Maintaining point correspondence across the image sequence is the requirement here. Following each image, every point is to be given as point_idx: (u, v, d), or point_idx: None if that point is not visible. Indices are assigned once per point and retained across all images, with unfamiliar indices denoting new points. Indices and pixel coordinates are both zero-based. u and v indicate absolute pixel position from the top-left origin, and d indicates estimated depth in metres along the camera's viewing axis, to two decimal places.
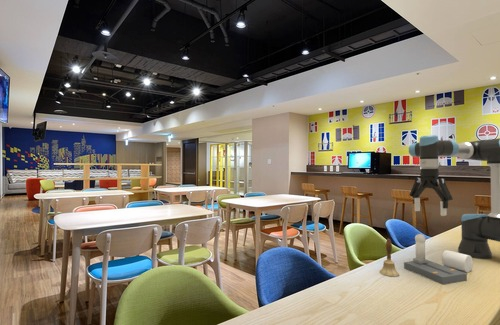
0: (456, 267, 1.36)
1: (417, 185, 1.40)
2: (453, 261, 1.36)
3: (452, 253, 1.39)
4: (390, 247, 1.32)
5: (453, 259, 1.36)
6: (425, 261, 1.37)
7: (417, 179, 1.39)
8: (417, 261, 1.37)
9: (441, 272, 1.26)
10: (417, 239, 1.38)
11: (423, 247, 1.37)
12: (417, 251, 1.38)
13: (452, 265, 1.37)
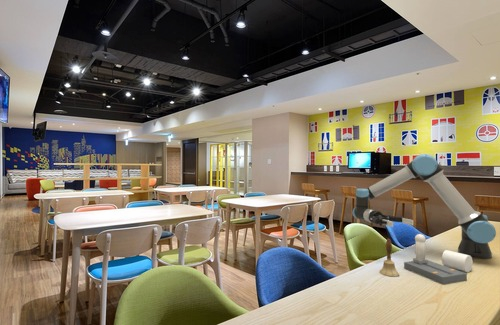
0: (456, 267, 1.36)
1: None
2: (453, 261, 1.36)
3: (452, 253, 1.39)
4: (390, 247, 1.32)
5: (453, 259, 1.36)
6: (425, 261, 1.37)
7: (388, 219, 1.65)
8: (417, 261, 1.37)
9: (441, 272, 1.26)
10: (417, 239, 1.38)
11: (423, 247, 1.37)
12: (417, 251, 1.38)
13: (452, 265, 1.37)
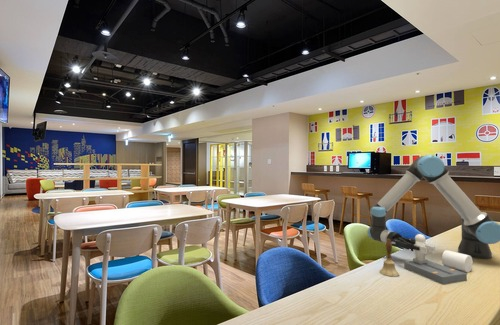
0: (456, 267, 1.36)
1: None
2: (453, 261, 1.36)
3: (452, 253, 1.39)
4: (390, 247, 1.32)
5: (453, 259, 1.36)
6: (425, 261, 1.37)
7: None
8: (417, 261, 1.37)
9: (441, 272, 1.26)
10: (417, 239, 1.38)
11: None
12: (417, 251, 1.38)
13: (452, 265, 1.37)
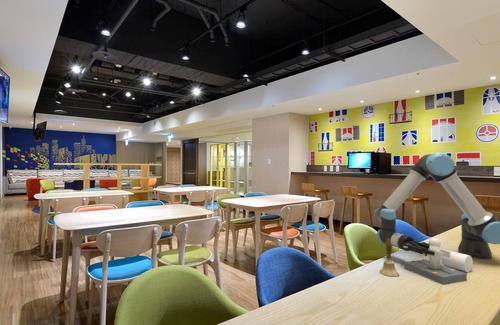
0: (456, 267, 1.36)
1: None
2: (453, 261, 1.36)
3: (452, 253, 1.39)
4: (390, 247, 1.32)
5: (453, 259, 1.36)
6: (440, 266, 1.30)
7: None
8: (431, 266, 1.30)
9: (441, 272, 1.26)
10: (431, 243, 1.30)
11: None
12: (431, 256, 1.31)
13: (452, 265, 1.37)
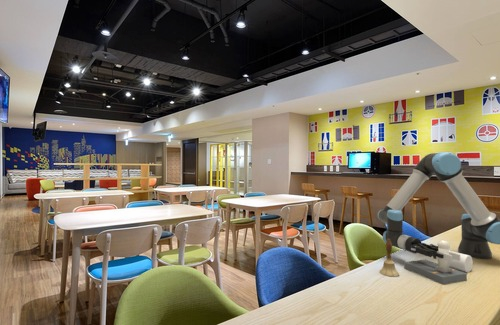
0: (456, 267, 1.36)
1: None
2: (453, 261, 1.36)
3: None
4: (390, 247, 1.32)
5: (453, 259, 1.36)
6: (449, 270, 1.25)
7: None
8: (440, 270, 1.26)
9: (441, 272, 1.26)
10: (440, 246, 1.26)
11: None
12: (440, 259, 1.26)
13: (452, 265, 1.37)
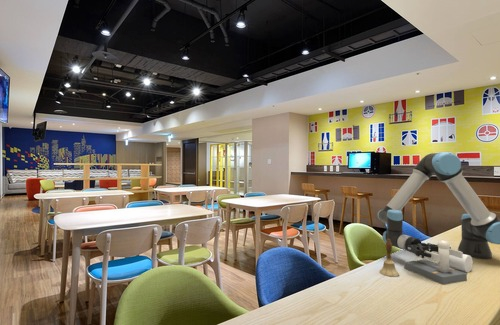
0: (456, 267, 1.36)
1: None
2: (453, 261, 1.36)
3: None
4: (390, 247, 1.32)
5: (453, 259, 1.36)
6: (449, 270, 1.25)
7: None
8: (440, 270, 1.26)
9: (441, 272, 1.26)
10: (440, 246, 1.26)
11: (447, 254, 1.25)
12: (440, 259, 1.26)
13: (452, 265, 1.37)
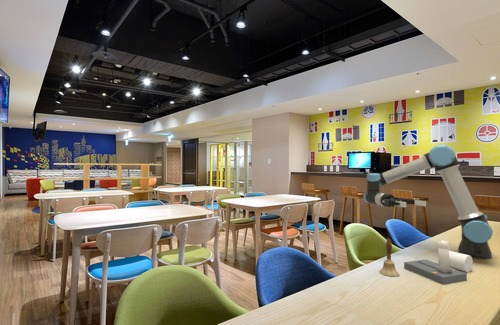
0: (456, 267, 1.36)
1: None
2: (453, 261, 1.36)
3: (452, 253, 1.39)
4: (390, 247, 1.32)
5: (453, 259, 1.36)
6: (449, 270, 1.25)
7: None
8: (440, 270, 1.26)
9: (441, 272, 1.26)
10: (440, 246, 1.26)
11: (447, 254, 1.25)
12: (440, 259, 1.26)
13: (452, 265, 1.37)
